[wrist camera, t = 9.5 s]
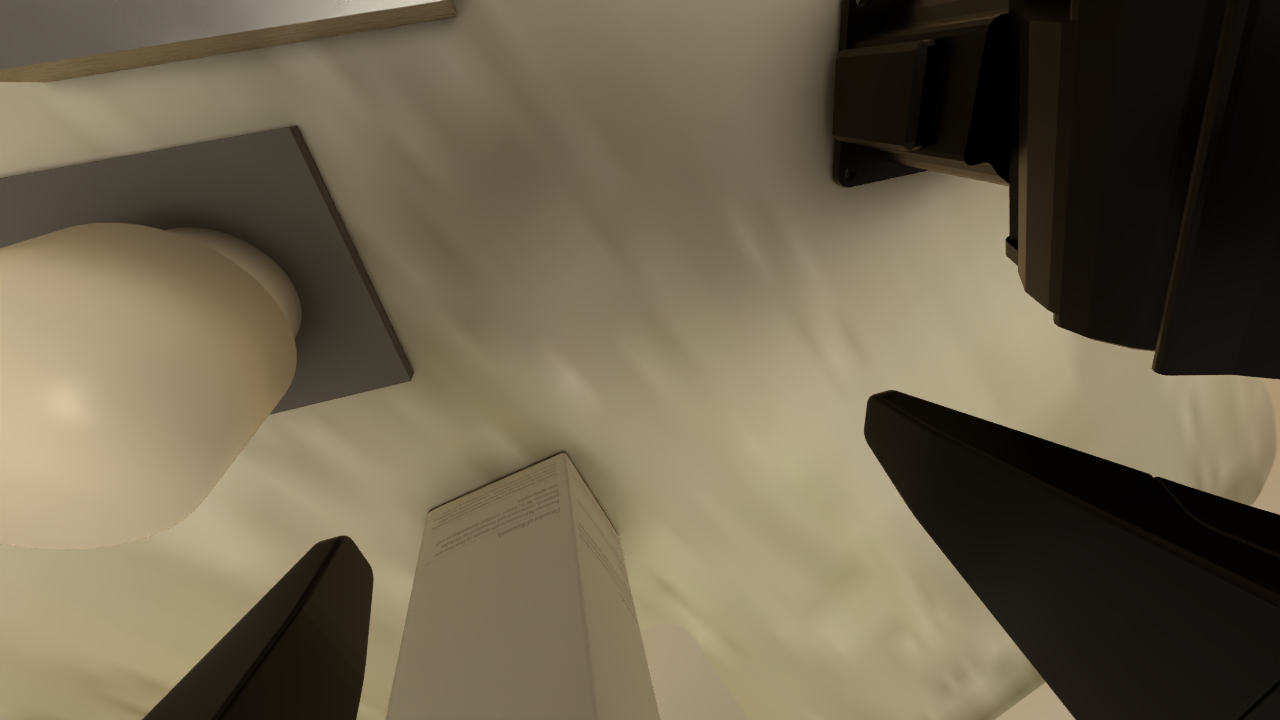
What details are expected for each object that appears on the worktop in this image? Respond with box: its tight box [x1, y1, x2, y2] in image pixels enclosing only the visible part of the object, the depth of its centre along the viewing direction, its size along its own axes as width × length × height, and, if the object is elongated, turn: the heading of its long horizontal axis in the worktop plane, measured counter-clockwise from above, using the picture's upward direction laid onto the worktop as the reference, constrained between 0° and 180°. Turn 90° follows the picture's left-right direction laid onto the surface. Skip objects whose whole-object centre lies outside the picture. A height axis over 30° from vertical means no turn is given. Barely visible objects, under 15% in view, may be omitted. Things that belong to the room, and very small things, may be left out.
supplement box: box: [386, 453, 660, 720], centre depth 19 cm, size 7×7×13 cm
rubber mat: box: [0, 126, 414, 415], centre depth 16 cm, size 9×9×1 cm
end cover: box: [0, 223, 302, 550], centre depth 13 cm, size 6×6×7 cm
